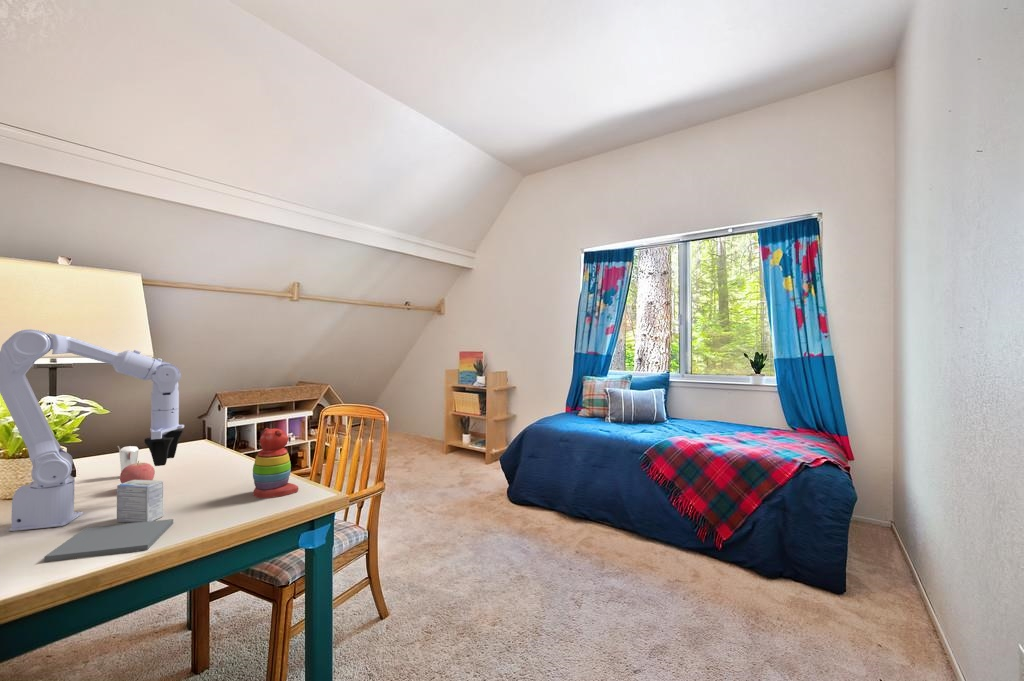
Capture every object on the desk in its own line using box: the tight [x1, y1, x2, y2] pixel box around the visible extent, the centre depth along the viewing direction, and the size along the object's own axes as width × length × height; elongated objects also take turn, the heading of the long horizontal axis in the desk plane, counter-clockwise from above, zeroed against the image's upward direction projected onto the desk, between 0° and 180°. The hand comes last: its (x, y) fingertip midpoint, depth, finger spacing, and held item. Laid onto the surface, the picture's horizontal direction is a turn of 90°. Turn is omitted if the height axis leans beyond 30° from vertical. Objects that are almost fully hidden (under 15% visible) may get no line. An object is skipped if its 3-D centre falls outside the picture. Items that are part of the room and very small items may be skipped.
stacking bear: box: [252, 427, 300, 499], centre depth 126 cm, size 11×10×18 cm
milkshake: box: [117, 445, 140, 473], centre depth 138 cm, size 4×5×10 cm
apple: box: [119, 460, 156, 484], centre depth 127 cm, size 7×7×8 cm
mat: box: [43, 518, 174, 563], centre depth 94 cm, size 16×14×1 cm
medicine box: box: [116, 479, 164, 523], centre depth 106 cm, size 8×4×9 cm, turn 84°
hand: (164, 461), depth 117 cm, fingers open, 7 cm apart
